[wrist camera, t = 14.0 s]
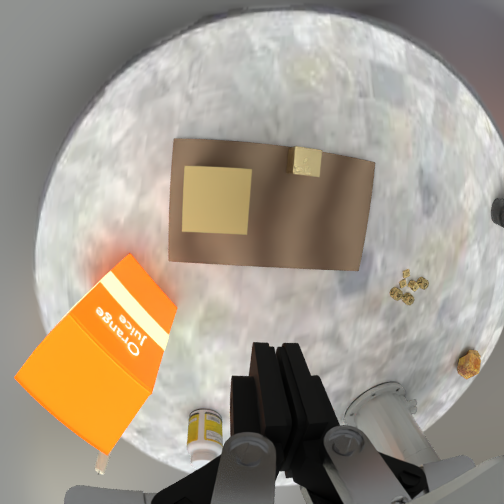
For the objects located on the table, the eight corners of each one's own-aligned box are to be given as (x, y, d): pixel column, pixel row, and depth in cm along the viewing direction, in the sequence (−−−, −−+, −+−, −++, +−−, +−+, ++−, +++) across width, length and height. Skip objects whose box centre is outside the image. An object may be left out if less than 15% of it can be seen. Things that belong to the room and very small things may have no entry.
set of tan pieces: (422, 278, 35) (430, 283, 33) (403, 305, 36) (410, 311, 34) (405, 261, 34) (413, 266, 32) (385, 291, 35) (392, 297, 33)
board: (370, 162, 29) (375, 162, 27) (354, 267, 32) (358, 271, 31) (175, 139, 26) (173, 138, 25) (170, 257, 30) (168, 261, 29)
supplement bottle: (192, 426, 39) (189, 472, 29) (186, 408, 37) (181, 457, 28) (223, 426, 39) (225, 472, 30) (220, 407, 37) (220, 457, 28)
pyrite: (472, 340, 41) (459, 348, 44) (469, 365, 36) (456, 372, 40) (483, 350, 39) (471, 358, 42) (481, 374, 35) (468, 381, 38)
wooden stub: (312, 152, 27) (321, 150, 24) (310, 176, 27) (319, 176, 24) (288, 148, 26) (295, 146, 23) (286, 173, 27) (292, 173, 24)
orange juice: (130, 251, 29) (29, 357, 10) (178, 307, 32) (140, 449, 13) (91, 287, 30) (1, 390, 11) (136, 337, 32) (86, 462, 13)
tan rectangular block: (246, 169, 27) (252, 169, 20) (242, 220, 28) (246, 234, 22) (194, 167, 26) (184, 165, 20) (192, 217, 28) (181, 231, 21)
